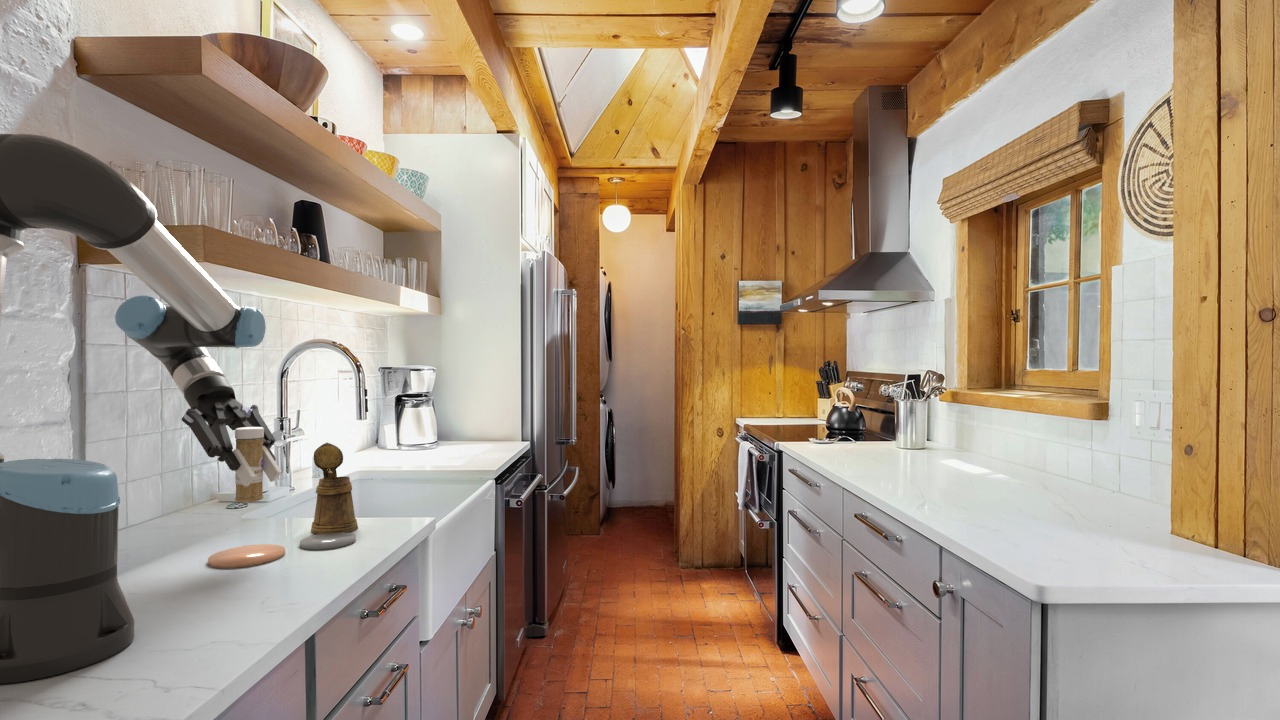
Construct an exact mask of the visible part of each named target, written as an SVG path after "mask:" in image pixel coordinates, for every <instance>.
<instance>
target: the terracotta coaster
mask: <svg viewBox="0 0 1280 720" xmlns="http://www.w3.org/2000/svg"><path fill="white" fill-rule="evenodd" d="M285 555H286V548H285V547H284V546H283V545H279V544H272V543H271V544H270V543H269V544H267V543H266V544H265V543H264V544H263V543H262V544H261V543H260V544H251V545H243V546H237V547H233V548H232V547H231V548H228V549H224V550H220V551H218V552H215V553H213V554H211V555H210V556H209V557H208V558H207V565H208V566H209V567H211V568H216V569H237V568H239V569H240V568H249V567H253V566H254V567H255V566H259V565H264V564H267V563H270V562H274V561H276V560H280V559H281V558H283V557H284V556H285Z"/></svg>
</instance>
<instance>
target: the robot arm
mask: <svg viewBox="0 0 1280 720" xmlns="http://www.w3.org/2000/svg"><path fill="white" fill-rule="evenodd" d="M157 217H158V212H157V209H156V207H155V206H154V204H153V202H152V201H150V199H149V198H148V197H147V196H146V195H145V194H144V193H143V192H142V191H141V190H140V189H139V188H138V187H137V186H136V185H135V184H134V183H132V182H131V181H130V180H129V179H128V178H126V177H125V176H124V175H123V174H122V173H120V172H118V171H117V170H116V169H114V168H113V167H111V166H110V165H109V164H107V163H105V162H104V161H103V160H101V159H99V158H97V157H96V156H95V155H94V156H93V154H91V153H88V152H87V151H84V150H83V149H80V148H78V147H77V146H74V145H73V144H69V143H67V142H64V141H62V140H60V139H56V138H52V137H49V136H45V135H40V134H32V133H31V134H30V133H16V134H13V133H0V326H1V325H2V324H1V323H2V312H3V304H4V294H5V293H4V291H5V282H6V273H7V264H8V263H7V261H8V259H10V257H11V256H14V255H16V254H17V253H19V252H21V251H24V249H25V246H26V236H27V229H51V230H58V231H63V232H66V233H70V234H74V235H76V236H78V237H79V238H80V239H81V240H82V241H84V242H85V243H86V244H88V245H89V246H90V247H93V248H95V249H99V250H106V251H107V252H109V253H110V254H111V256H113V257H114V258H115V259H116V260H118V261H119V263H121V264H122V265H123V266H124V267H126V269H128V270H129V271H130V272H131V273H133V275H134V276H135V277H136V278H138V279H139V280H141V282H142V283H143V284H145V286H147V287H148V288H149V289H150V290H152V291H153V292H154V293H155V294H156V295H157V296H158V297H160V298H161V299H162V300H163V301H164V302H165V303H166V304H168V305H165V304H164V303H163V302H161V301H160V300H158V299H157V298H155V297H152V296H151V295H144V294H143V295H135V296H132V297H130V298H128V299H126V300H125V301H124V302H122V303H121V304H120V305H119V306H118V308H117V309H116V312H115V316H114V320H115V321H114V322H115V324H116V325H117V327H118V328H119V329H120V330H121V331H122V332H124V334H126V336H127V337H128V339H130V340H133V342H135V343H137V344H138V345H140V346H141V347H142V348H144V349H145V350H147V351H148V352H149V353H150V354H151V355H152V356H154V357H155V358H156V359H157V360H159V361H160V363H162V364H163V365H164V367H165V368H166V370H167V372H168V373H169V375H170V376H171V378H172V379H173V382H174V383H175V385H176V386H177V388H178V390H179V391H180V393H181V394H182V395H183V397H184V399H185V401H186V403H187V404H188V406H189V408H188V409H187V410H186V411H185V413H184V414H183V416H182V417H181V421H182V422H183V423H184V424H185V425H187V426H188V427H189V428H190V430H191V431H192V433H193V435H194V436H195V438H196V439H197V441H198V443H199V444H200V446H202V448H203V450H204V452H205V453H206V455H207V456H208V457H209V458H215V457H218V458H217V460H218V461H219V462H221V463H223V462H225V464H226V465H227V467H228V469H229V470H230V471H232V472H233V471H234V472H235V473H236V474H237V476H238V477H239V479H240V481H241V482H242V484H243V485H244V487H246V486H249V485H250V483H251V482H252V480H253V479H254V478H255V474H254V473H253V471H252V469H251V468H250V466H249V465H248V463H247V462H246V460H245V458H244V457H243V455H242V454H241V452H240V450H239V449H236V448H235V449H234V448H233V447H234V446H233V444H232V440H231V438H230V434H229V431H228V428H229V429H230V430H232V431H235V429H237V428H242V427H263V428H264V437H263V473H264V474H265V475H266V477H267V478H268V479H269V482H276V480H277V479H278V477H279V476H280V474H282V469H281V468H280V467H279V465H278V464H277V463H276V460H277V459H276V456H275V455H274V453H273V451H272V450H271V448H272V447H273V445H274V444H275V442H276V438H275V437H274V435H273V433H272V432H271V430H270V428H269V427H268V425H267V423H266V422H265V421H264V419H263V418H262V416H261V414H260V409H259V407H258V405H256V404H252V405H250V407H249V406H246V405H243V404H242V402H240V401H238V399H237V398H236V394H235V390H234V388H233V387H232V386H231V383H230V382H229V381H228V379H227V378H226V376H225V374H224V372H223V371H222V369H221V367H219V365H218V364H217V362H216V361H215V359H214V358H213V357H212V355H211V354H210V352H209V351H208V349H207V348H230V349H231V348H235V349H239V348H255V347H257V346H259V345H260V344H261V343H262V342H263V341H264V338H265V335H266V329H267V328H266V319H265V315H264V314H263V313H262V311H261V310H260V308H256V307H252V306H247V305H243V306H238V305H237V304H236V303H235V302H234V301H233V300H232V299H231V298H230V297H229V296H228V295H227V294H226V292H225V291H224V290H223V289H222V288H221V287H220V286H219V285H218V283H216V281H214V280H213V278H212V277H210V276H209V274H208V273H207V272H206V271H205V270H204V268H202V266H200V265H199V263H198V262H196V259H194V258H193V257H192V256H191V255H190V254H189V252H187V250H185V249H184V247H182V245H181V244H180V243H179V242H178V241H177V240H176V238H175V237H174V236H172V235H171V234H170V233H169V231H168V230H167V229H166V228H165V227H164V226H163V224H161V223H160V222H159V221H158V220H157ZM227 426H228V427H227ZM235 473H234V474H235ZM120 504H121V497H120V495H119V485H118V476H117V473H116V472H115V471H114V470H113V469H112V468H111V467H110V466H109V465H106V464H104V463H101V462H96V461H92V460H91V461H90V460H86V459H84V460H83V459H72V458H48V459H47V458H27V459H24V458H23V459H14V460H8V461H5V455H4V454H2V452H0V684H13V683H19V682H27V681H32V680H33V681H34V680H39V679H43V678H48V677H51V676H52V677H53V676H56V675H61V674H64V673H67V672H71V671H74V670H78V669H81V668H85V667H87V666H90V665H93V664H96V663H98V662H100V661H102V660H106V659H107V658H109V657H111V656H114V655H115V654H117V653H120V652H121V651H122V650H124V649H125V648H127V647H129V645H130V644H131V643H132V642H133V641H134V639H135V619H134V616H133V614H132V611H131V608H130V606H129V604H128V602H127V599H126V597H125V595H124V592H123V591H122V588H121V585H120V582H119V580H118V554H119V553H118V551H119V550H118V549H119V548H118V545H119V505H120Z"/></svg>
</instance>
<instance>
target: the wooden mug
mask: <svg viewBox="0 0 1280 720" xmlns="http://www.w3.org/2000/svg"><path fill="white" fill-rule="evenodd" d="M313 462H314V464H315V466H316V467H317V468H318V469H321V470H322V475H323V477H322V478H319V479H318V480H319V481H318V484H317V486H316V487H315V488H316V489H315V494H316V504H315V511H314V518H313V521H312V522H311V527H310V528H311V529H310V531H311V533H312V534H313V533H314V534H313V535H318V534H324V533H334V532H346V533H351V532H353V531H355V530H357V529H358V528H359V527H358V521H357V518H356V514H355V508H354V502H353V495H352V494H353V493H352V490H353V485H352V482H351V479H350V476H349V475H348V476H345V475H344V476H338V475H337V469H338V468H340V466H342V464H343V462H344V455H343V452H342V450H341V449H340V447H338V446H337V445H334V444H332V443H329V442H324V443H323V444H322V445H320V446H318V448H316V449H315V450H314V452H313Z"/></svg>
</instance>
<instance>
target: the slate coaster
mask: <svg viewBox="0 0 1280 720" xmlns="http://www.w3.org/2000/svg"><path fill="white" fill-rule="evenodd" d="M356 538H357V536H356V534H355V533H351V532H334V533H324V534H313V535H309V536H307V537H305V538H302V539H301V540H300V541H299V548H300V549H303V550H307V551H326V550H327V551H328V550H334V549H339V548H340V549H341V548H344V547H347V546H350V545H352V544H354V543H355V542H356V540H357V539H356Z"/></svg>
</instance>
